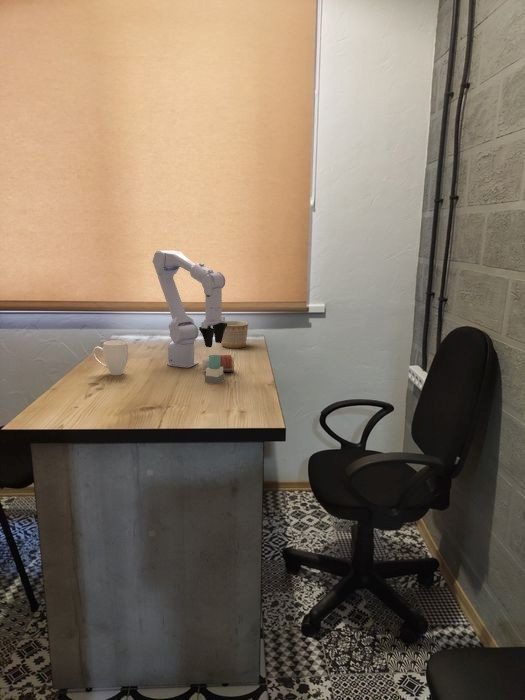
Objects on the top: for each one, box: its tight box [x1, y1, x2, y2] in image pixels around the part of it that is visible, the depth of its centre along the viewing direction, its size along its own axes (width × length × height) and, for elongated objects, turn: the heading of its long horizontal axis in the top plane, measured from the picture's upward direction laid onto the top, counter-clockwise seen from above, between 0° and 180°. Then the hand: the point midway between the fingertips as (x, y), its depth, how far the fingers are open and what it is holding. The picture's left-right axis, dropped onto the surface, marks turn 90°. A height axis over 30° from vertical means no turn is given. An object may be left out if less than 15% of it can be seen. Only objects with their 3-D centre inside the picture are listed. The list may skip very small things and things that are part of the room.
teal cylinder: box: [208, 354, 221, 369], centre depth 172 cm, size 4×4×4 cm
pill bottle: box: [202, 354, 235, 373], centre depth 184 cm, size 6×6×11 cm
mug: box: [92, 339, 129, 376], centre depth 177 cm, size 12×8×11 cm
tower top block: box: [205, 367, 224, 377], centre depth 172 cm, size 4×4×2 cm
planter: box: [221, 320, 249, 349], centre depth 225 cm, size 13×13×10 cm
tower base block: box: [204, 372, 226, 384], centre depth 173 cm, size 5×5×2 cm
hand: (213, 344), depth 180 cm, fingers open, 7 cm apart
